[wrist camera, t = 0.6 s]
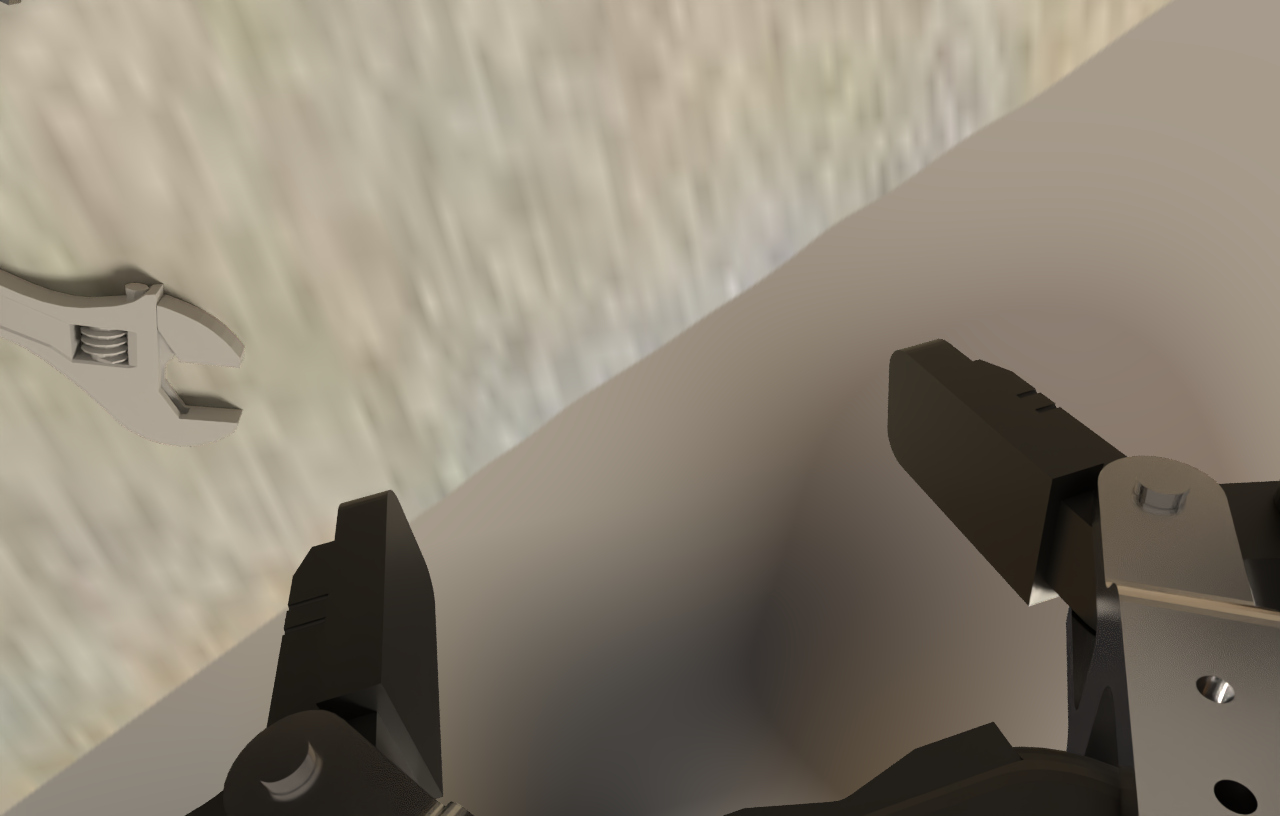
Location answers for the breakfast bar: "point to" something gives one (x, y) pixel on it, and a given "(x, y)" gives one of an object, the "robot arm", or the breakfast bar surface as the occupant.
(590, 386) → the breakfast bar surface
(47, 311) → the adjustable wrench
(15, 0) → the picture frame
